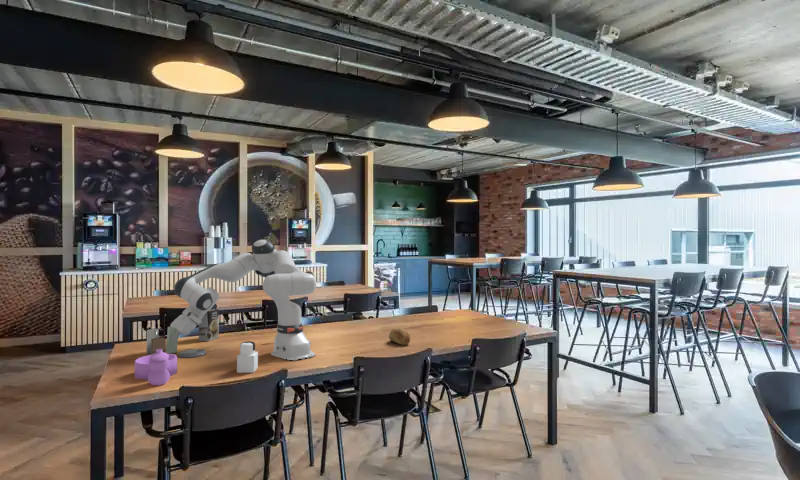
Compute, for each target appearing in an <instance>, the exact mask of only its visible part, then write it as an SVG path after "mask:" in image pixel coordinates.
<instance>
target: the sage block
mask: <svg viewBox="0 0 800 480" xmlns="http://www.w3.org/2000/svg"><path fill="white" fill-rule="evenodd" d="M176 331H177V330H176V327H175V326H173V327H171V326H167V334H166V353H167V354H175V353H177V352H178V345H179V344H178V342H179V336H178V337H176V338H175V339H174V340H172V339H170V337H171V336H172V335H174V334H175V333H176Z"/></svg>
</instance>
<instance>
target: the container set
mask: <svg viewBox="0 0 800 480" xmlns="http://www.w3.org/2000/svg"><path fill="white" fill-rule="evenodd" d="M177 371H178V355H176V354H175V353H167V352H166V353H164V352H162V349H157V350H156V353H154V354H152V355H151V354H147V355H143V356H141V357H138V358H136V359H135V360H134V379H136V378H137V379H136V380H140V379H145V380H144V381H148V383H149V384H150V385H151V386H153V385H158V386H163V385H166V384H167V382H168V381H170V379H171V376H173V375H175V374H177V373H178V372H177ZM165 383H166V384H165ZM162 384H163V385H162Z"/></svg>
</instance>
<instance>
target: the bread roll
mask: <svg viewBox="0 0 800 480" xmlns="http://www.w3.org/2000/svg"><path fill="white" fill-rule="evenodd" d="M388 338H389V341H391V342H393V343H396V344H397V345H398V344H399V345H402V346H404V345H405V346H406V345H409V344H410V341H411V337H410V334H409V332H408V331H407V330H406V329H404V328H401V327H398V328H396V327H395V328H392V329H391V330H390V332H389V335H388Z"/></svg>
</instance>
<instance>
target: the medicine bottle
mask: <svg viewBox="0 0 800 480" xmlns="http://www.w3.org/2000/svg"><path fill="white" fill-rule="evenodd" d="M239 352H240V353H238V355H237V356H236V373H237V374H244V373H245V374H246V373H247V374H248V373H251V374H253V373H255V371H257V369H258V368H259V351H256V342H254V341H251V340H250V341H249V340H248V341H243V342H241V343H240V345H239Z"/></svg>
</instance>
